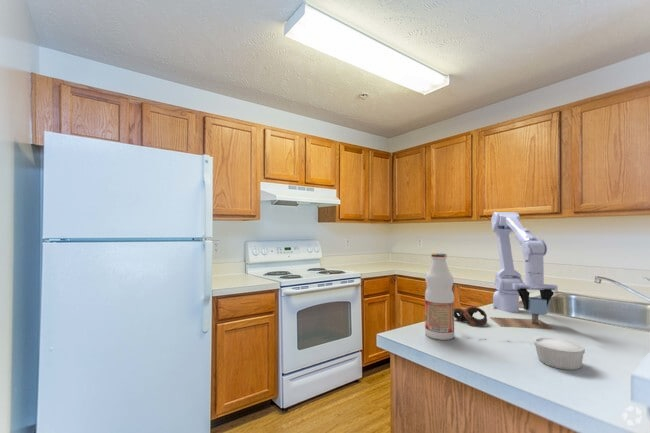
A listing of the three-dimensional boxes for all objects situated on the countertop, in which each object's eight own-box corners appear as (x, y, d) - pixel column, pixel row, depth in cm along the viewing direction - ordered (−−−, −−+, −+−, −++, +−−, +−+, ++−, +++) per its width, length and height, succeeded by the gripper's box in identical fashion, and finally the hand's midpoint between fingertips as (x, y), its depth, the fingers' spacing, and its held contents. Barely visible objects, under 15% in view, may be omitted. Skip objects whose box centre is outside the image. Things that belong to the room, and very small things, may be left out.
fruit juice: (437, 342, 103) (437, 255, 104) (419, 332, 112) (419, 252, 113) (460, 338, 106) (460, 254, 107) (441, 330, 115) (440, 252, 116)
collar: (530, 313, 116) (530, 299, 116) (523, 309, 121) (523, 296, 122) (546, 314, 115) (546, 300, 115) (539, 310, 121) (539, 297, 121)
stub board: (500, 330, 115) (500, 316, 115) (489, 321, 126) (489, 308, 127) (556, 333, 112) (555, 319, 112) (539, 323, 124) (538, 310, 124)
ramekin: (537, 351, 95) (536, 334, 96) (585, 362, 88) (584, 342, 89) (532, 364, 87) (531, 344, 87) (584, 376, 80) (584, 355, 80)
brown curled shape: (484, 324, 123) (490, 309, 119) (482, 342, 116) (488, 326, 112) (451, 313, 128) (456, 297, 124) (447, 329, 121) (452, 313, 117)
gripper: (517, 273, 116) (518, 311, 116) (562, 274, 114) (562, 313, 113) (510, 271, 123) (510, 306, 123) (551, 272, 121) (552, 308, 120)
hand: (535, 309), depth 118 cm, fingers closed on collar, 5 cm apart
